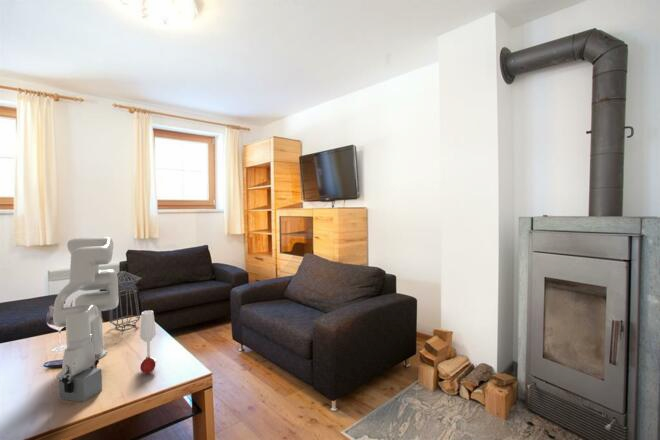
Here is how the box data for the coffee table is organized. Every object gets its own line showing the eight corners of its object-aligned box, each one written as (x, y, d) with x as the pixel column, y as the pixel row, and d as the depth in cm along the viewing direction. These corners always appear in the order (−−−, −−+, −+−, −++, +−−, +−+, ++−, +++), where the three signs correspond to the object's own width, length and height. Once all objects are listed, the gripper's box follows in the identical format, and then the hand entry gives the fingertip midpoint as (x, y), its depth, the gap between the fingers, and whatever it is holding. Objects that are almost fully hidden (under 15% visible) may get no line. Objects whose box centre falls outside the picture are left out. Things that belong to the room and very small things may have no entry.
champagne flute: (149, 365, 147) (148, 315, 146) (137, 364, 149) (135, 314, 148) (160, 358, 154) (158, 310, 153) (148, 357, 155) (146, 309, 154)
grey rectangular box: (59, 398, 122) (58, 376, 122) (78, 387, 130) (77, 366, 129) (84, 401, 120) (83, 379, 120) (102, 390, 128) (101, 368, 128)
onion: (144, 370, 143) (144, 353, 142) (158, 370, 143) (157, 352, 143) (138, 377, 137) (137, 359, 137) (151, 377, 138) (151, 359, 137)
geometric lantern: (118, 334, 184) (114, 274, 182) (105, 329, 192) (101, 272, 190) (145, 325, 197) (142, 269, 196) (132, 321, 205) (129, 267, 204)
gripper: (91, 333, 133) (92, 373, 134) (48, 351, 116) (49, 397, 117) (106, 334, 132) (107, 374, 133) (65, 353, 115) (67, 399, 116)
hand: (80, 385), depth 125 cm, fingers open, 9 cm apart
